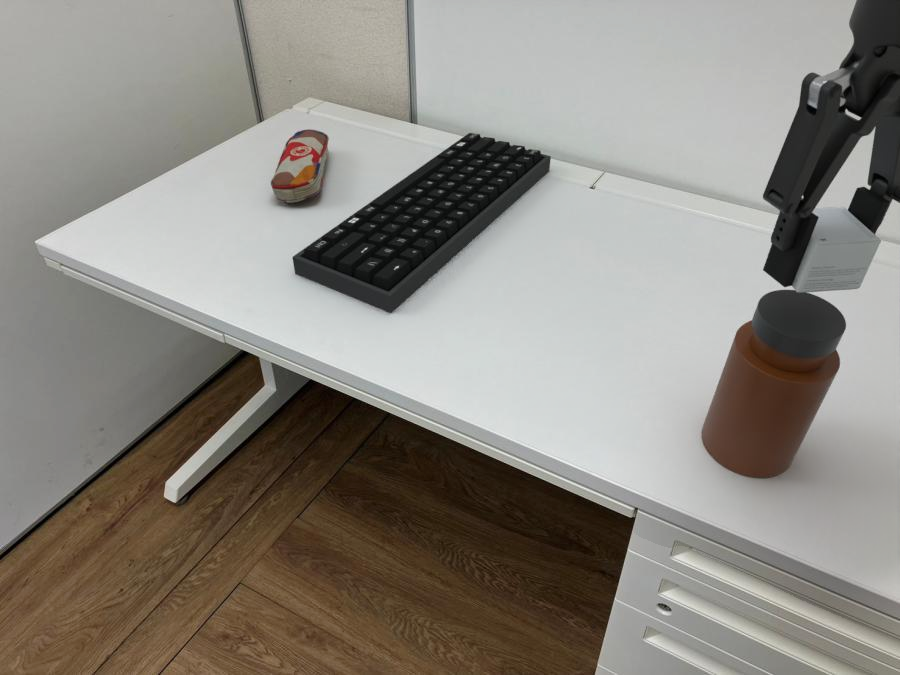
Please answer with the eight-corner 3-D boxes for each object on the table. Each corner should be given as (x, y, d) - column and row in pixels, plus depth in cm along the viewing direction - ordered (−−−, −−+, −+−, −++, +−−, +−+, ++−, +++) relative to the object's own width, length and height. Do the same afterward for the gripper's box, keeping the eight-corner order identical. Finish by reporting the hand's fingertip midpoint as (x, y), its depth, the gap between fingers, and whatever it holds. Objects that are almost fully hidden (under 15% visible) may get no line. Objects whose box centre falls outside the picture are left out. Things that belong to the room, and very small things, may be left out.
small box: (861, 290, 58) (884, 239, 55) (795, 295, 58) (815, 244, 55) (825, 253, 63) (845, 204, 60) (764, 257, 62) (781, 208, 59)
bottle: (812, 463, 70) (881, 334, 59) (738, 489, 68) (796, 358, 57) (753, 402, 76) (806, 275, 65) (683, 423, 74) (725, 295, 63)
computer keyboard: (467, 148, 123) (468, 127, 121) (549, 171, 117) (551, 149, 114) (295, 273, 94) (291, 249, 92) (390, 313, 88) (389, 288, 85)
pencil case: (247, 202, 108) (241, 173, 105) (296, 147, 123) (292, 120, 120) (314, 211, 107) (310, 181, 103) (356, 154, 121) (354, 127, 118)
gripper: (988, -48, 51) (864, 228, 66) (770, -28, 45) (689, 267, 60) (1092, -24, 45) (932, 271, 60) (859, 2, 40) (746, 318, 55)
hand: (811, 269), depth 60 cm, fingers closed on small box, 6 cm apart
